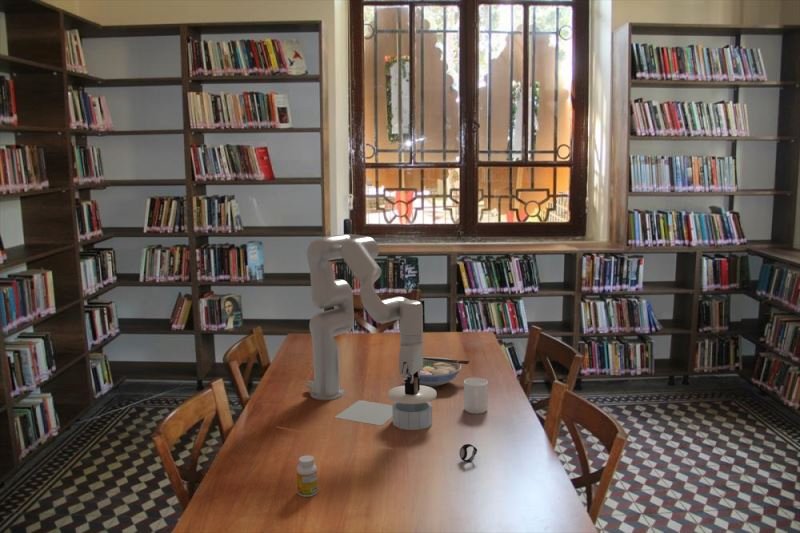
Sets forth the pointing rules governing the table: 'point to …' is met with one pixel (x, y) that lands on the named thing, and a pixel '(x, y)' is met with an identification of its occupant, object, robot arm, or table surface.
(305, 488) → the supplement bottle
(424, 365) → the ramen bowl
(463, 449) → the smartwatch
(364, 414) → the mat
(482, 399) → the mug
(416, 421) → the bowl
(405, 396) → the lid
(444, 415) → the table surface
